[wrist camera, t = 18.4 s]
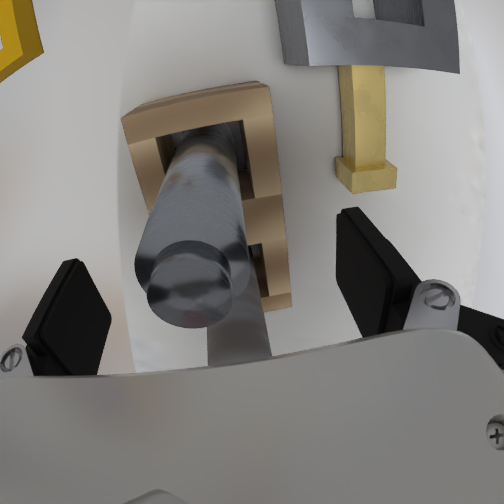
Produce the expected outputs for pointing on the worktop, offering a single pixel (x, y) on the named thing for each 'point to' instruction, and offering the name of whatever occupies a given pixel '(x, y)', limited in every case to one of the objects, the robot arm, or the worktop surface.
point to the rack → (252, 196)
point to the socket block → (370, 34)
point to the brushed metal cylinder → (196, 234)
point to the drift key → (364, 130)
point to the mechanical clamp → (18, 36)
